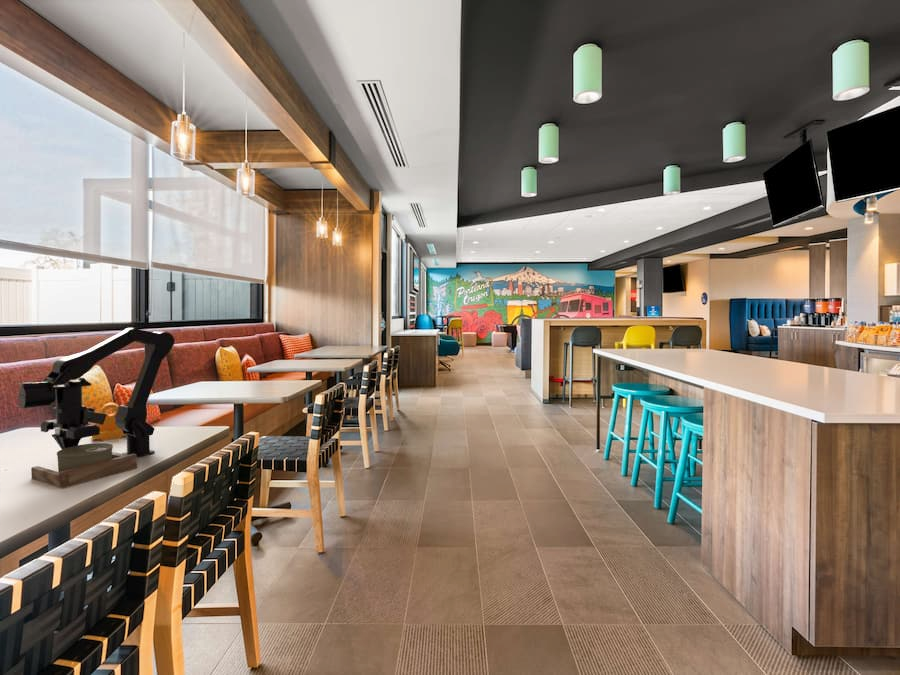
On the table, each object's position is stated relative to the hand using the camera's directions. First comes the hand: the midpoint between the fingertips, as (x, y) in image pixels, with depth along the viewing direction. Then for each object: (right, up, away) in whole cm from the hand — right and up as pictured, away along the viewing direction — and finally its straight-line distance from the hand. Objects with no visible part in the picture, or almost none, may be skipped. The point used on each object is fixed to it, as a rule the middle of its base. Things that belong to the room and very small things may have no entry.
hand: (70, 458), depth 130 cm
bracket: (-14, -2, +35) cm, 38 cm away
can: (+7, -3, -4) cm, 9 cm away
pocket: (+6, -3, -3) cm, 8 cm away
